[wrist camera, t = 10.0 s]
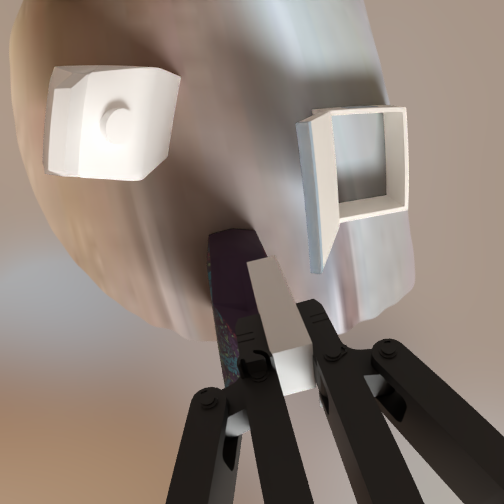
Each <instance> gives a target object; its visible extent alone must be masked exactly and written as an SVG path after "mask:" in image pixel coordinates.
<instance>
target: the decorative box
mask: <svg viewBox="0 0 504 504" xmlns="http://www.w3.org/2000/svg"><path fill="white" fill-rule="evenodd" d="M262 258H267V255H266V253H265V250H264V248H263V246H262V244H261V242H260V240H259V238H258V236H257V234H256V231H255V230H243V229H229V230H225V231H222V232H218V233H215V234H211V235H209V241H208V253H207V271H208V279H209V286H210V294H211V301H212V308H213V315H214V322H215V329H216V336H217V343H218V349H219V355H220V361H221V367H222V373H223V378H224V384H225V388H226V387H228V386H230V385H231V384H233V383H234V382H235V381H236V380H237V379H238V378H239V376H240V373H239V371H238V368H237V359H238V357H239V350H238V343H237V337H236V331H235V326H236V323H237V320H238V319H239V318H243V317H247V316H251V315H255V314H259V311H258V308H257V304H256V300H255V295H254V291H253V287H252V283H251V279H250V274H249V270H248V266H247V262H250V261H254V260H258V259H262Z"/></svg>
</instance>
